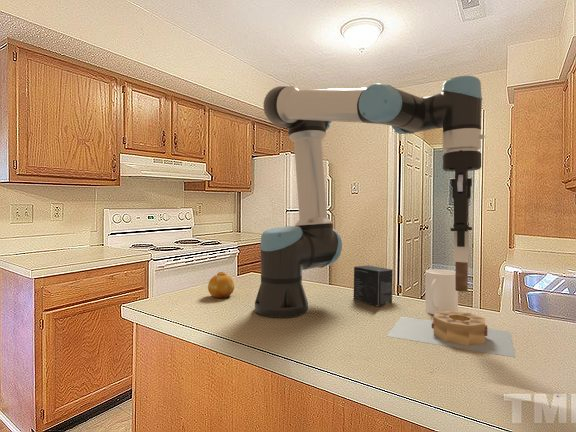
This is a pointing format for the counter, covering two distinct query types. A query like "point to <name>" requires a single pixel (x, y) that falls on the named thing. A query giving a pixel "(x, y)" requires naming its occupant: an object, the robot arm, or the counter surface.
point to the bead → (459, 327)
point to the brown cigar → (461, 275)
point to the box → (373, 285)
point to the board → (424, 332)
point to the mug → (440, 291)
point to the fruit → (221, 285)
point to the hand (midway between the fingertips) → (461, 260)
